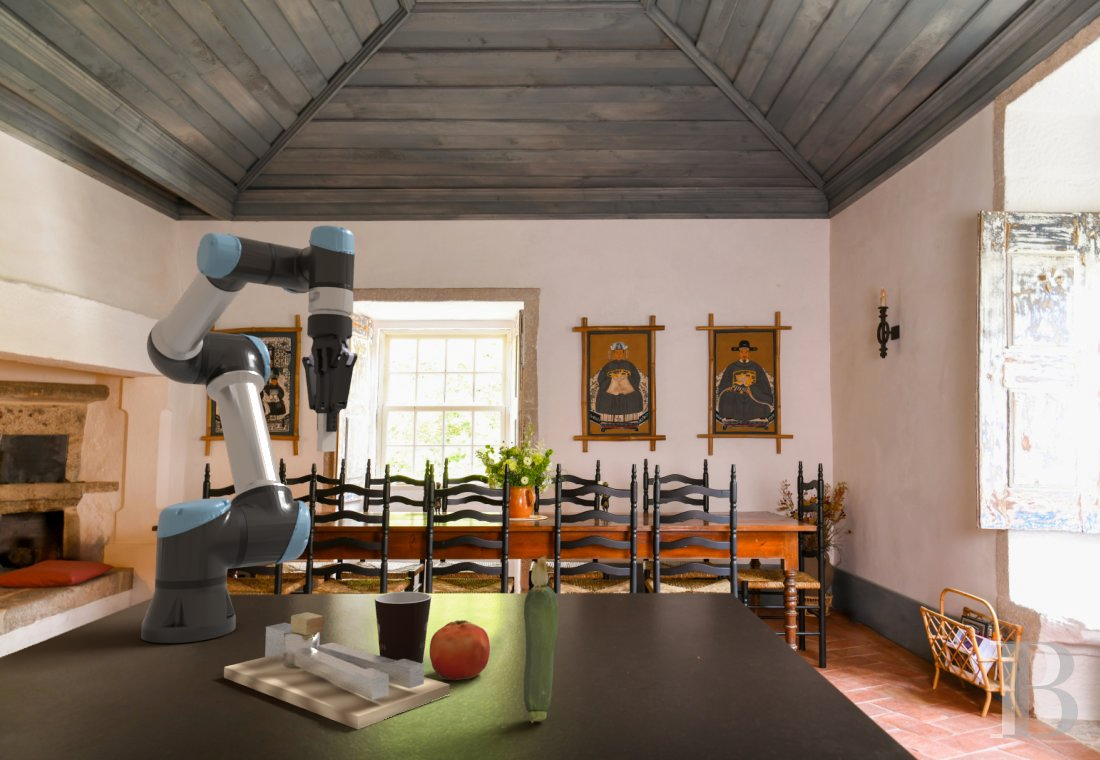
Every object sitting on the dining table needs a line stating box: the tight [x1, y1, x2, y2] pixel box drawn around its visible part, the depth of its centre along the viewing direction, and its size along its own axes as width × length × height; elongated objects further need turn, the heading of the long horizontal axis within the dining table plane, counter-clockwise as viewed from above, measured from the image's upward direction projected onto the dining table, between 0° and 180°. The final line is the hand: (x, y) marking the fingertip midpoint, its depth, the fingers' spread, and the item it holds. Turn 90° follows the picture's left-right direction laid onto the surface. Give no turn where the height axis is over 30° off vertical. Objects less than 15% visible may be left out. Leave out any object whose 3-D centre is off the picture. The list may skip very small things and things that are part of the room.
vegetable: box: [523, 555, 560, 724], centre depth 92 cm, size 4×4×20 cm
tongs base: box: [264, 622, 425, 689], centre depth 104 cm, size 30×5×4 cm, turn 52°
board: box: [223, 656, 451, 730], centre depth 103 cm, size 31×15×2 cm, turn 52°
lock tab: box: [290, 611, 324, 635], centre depth 109 cm, size 4×3×2 cm
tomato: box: [429, 619, 491, 681], centre depth 108 cm, size 9×9×8 cm
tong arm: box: [295, 648, 389, 700], centre depth 99 cm, size 20×2×2 cm, turn 46°
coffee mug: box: [374, 591, 432, 664], centre depth 116 cm, size 12×9×10 cm
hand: (326, 451), depth 127 cm, fingers closed
